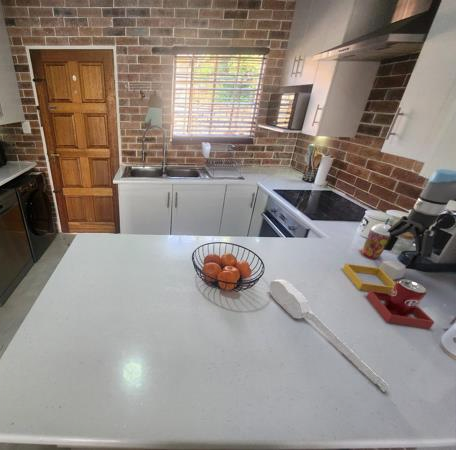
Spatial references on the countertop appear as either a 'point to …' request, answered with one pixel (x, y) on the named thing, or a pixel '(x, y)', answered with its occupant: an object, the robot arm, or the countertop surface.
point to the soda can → (404, 298)
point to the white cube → (393, 269)
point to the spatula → (316, 323)
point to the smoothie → (376, 240)
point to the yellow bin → (351, 268)
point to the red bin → (420, 320)
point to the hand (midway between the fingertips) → (397, 258)
